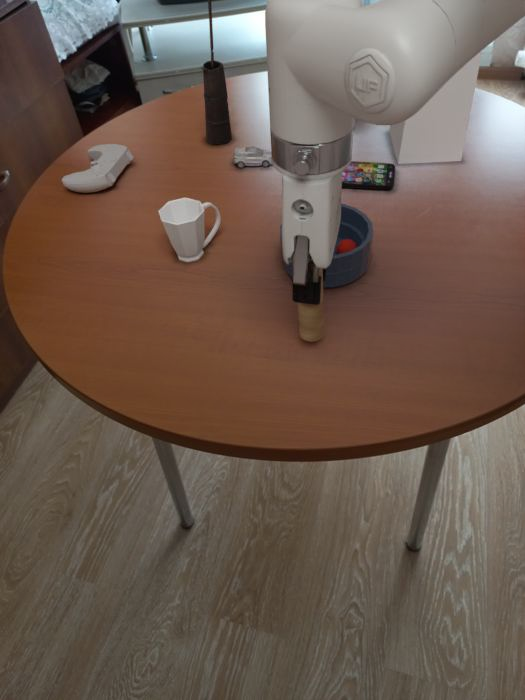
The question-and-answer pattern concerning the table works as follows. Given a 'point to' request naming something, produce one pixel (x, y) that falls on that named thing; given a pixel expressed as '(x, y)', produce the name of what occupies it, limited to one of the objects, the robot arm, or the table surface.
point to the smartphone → (369, 175)
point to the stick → (311, 316)
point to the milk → (438, 122)
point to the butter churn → (215, 97)
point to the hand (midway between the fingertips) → (309, 289)
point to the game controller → (100, 169)
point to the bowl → (351, 262)
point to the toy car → (252, 157)
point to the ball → (346, 246)
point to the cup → (187, 226)
